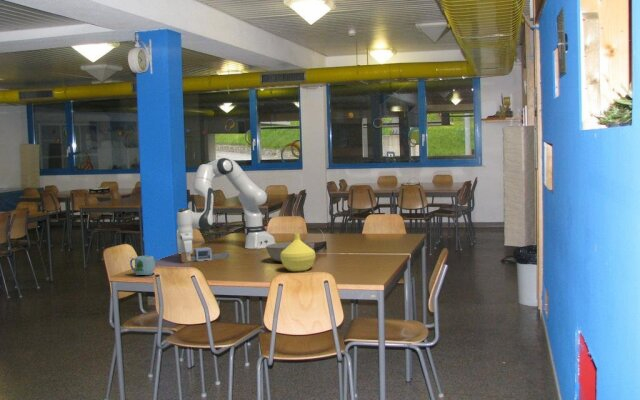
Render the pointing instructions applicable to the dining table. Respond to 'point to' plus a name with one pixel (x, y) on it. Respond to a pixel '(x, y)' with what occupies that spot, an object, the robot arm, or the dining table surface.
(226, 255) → the rod
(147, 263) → the mug
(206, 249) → the pale blue storage bin
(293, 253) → the vase
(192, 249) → the milk carton
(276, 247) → the bowl
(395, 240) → the dining table surface
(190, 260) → the block
